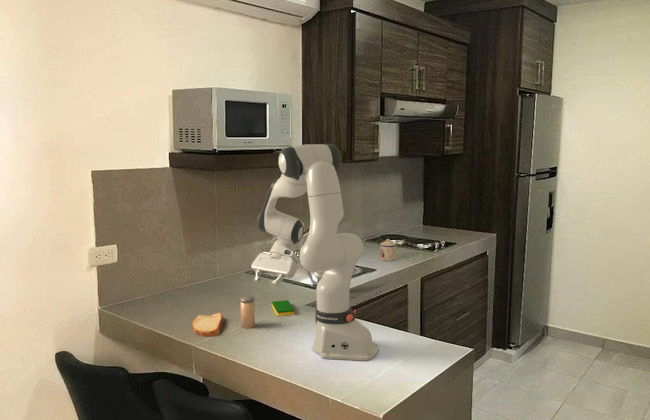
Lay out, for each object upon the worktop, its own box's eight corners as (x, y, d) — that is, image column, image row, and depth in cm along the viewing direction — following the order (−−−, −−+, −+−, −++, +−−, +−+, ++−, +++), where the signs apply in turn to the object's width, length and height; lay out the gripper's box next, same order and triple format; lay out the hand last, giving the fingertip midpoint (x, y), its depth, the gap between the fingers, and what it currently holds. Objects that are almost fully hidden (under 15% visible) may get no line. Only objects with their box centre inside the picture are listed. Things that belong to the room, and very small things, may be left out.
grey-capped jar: (257, 324, 214) (256, 296, 212) (251, 329, 208) (250, 301, 207) (245, 322, 215) (244, 295, 214) (238, 327, 210) (237, 299, 209)
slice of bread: (210, 339, 200) (210, 329, 199) (176, 330, 210) (175, 320, 209) (244, 324, 215) (243, 315, 214) (210, 316, 224) (210, 307, 224)
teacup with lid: (378, 257, 319) (378, 237, 317) (394, 257, 320) (394, 237, 318) (382, 262, 307) (382, 242, 305) (398, 262, 308) (399, 241, 306)
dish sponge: (288, 305, 237) (288, 299, 237) (294, 315, 224) (294, 309, 224) (271, 306, 236) (271, 301, 235) (277, 317, 222) (277, 311, 222)
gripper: (257, 246, 228) (241, 275, 222) (296, 252, 217) (281, 282, 210) (265, 255, 233) (249, 283, 226) (303, 261, 221) (288, 291, 215)
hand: (265, 283), depth 218 cm, fingers open, 8 cm apart
